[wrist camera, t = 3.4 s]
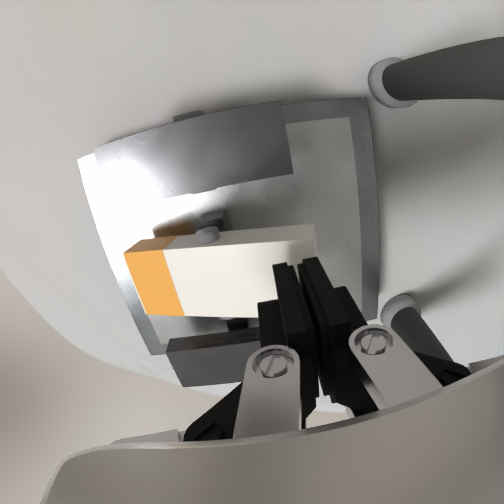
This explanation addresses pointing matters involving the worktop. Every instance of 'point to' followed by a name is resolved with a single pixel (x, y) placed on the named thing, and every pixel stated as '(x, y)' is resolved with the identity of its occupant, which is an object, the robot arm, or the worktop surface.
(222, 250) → the block
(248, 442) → the robot arm
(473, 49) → the dark grey post
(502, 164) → the worktop surface
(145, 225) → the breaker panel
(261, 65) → the worktop surface
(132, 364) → the worktop surface
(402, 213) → the worktop surface
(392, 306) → the dark grey rod
